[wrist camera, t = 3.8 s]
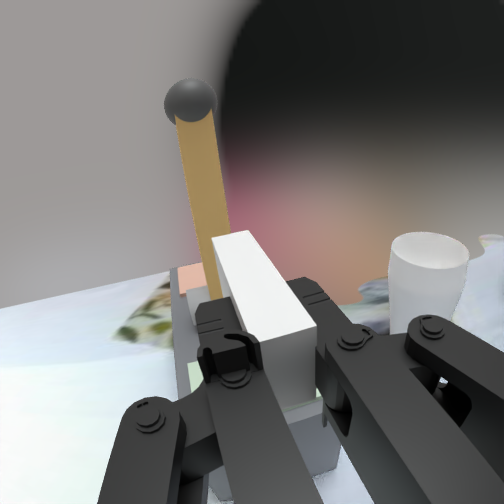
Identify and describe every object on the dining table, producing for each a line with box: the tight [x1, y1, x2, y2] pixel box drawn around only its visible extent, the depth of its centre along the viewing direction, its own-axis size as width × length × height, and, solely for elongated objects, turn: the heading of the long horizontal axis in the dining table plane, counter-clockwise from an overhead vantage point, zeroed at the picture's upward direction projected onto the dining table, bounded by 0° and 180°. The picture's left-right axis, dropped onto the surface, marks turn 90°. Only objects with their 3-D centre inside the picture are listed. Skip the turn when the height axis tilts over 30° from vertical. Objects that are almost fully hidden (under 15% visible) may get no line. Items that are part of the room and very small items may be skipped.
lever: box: [164, 78, 231, 326], centre depth 23 cm, size 6×4×19 cm, turn 104°
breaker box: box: [170, 262, 341, 501], centre depth 29 cm, size 10×24×10 cm, turn 14°
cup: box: [388, 232, 469, 335], centre depth 31 cm, size 9×9×12 cm
